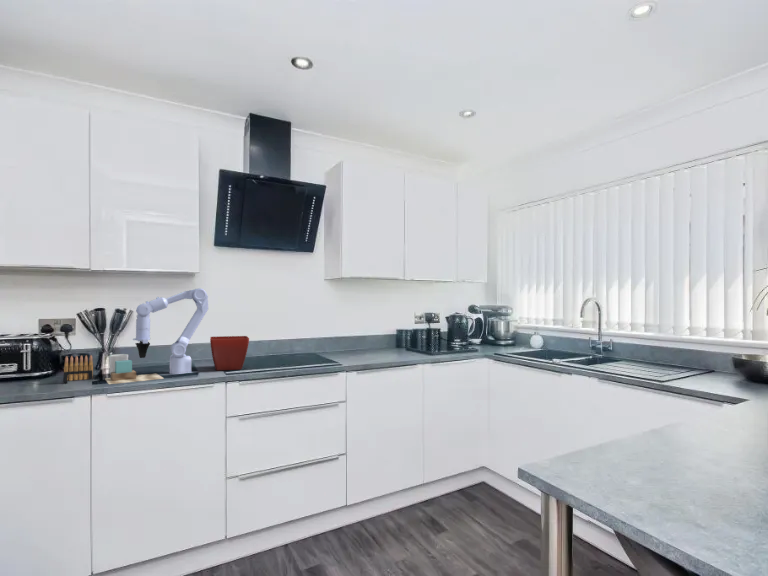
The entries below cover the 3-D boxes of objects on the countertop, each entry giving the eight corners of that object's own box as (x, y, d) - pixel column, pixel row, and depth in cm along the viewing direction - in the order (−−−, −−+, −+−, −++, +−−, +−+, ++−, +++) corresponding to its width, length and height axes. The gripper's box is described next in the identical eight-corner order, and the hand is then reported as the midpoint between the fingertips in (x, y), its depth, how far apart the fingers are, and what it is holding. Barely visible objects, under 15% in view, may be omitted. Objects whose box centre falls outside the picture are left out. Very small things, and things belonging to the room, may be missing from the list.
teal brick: (130, 370, 189) (130, 359, 189) (131, 371, 186) (132, 360, 186) (114, 372, 185) (115, 361, 185) (116, 373, 182) (116, 362, 182)
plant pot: (246, 365, 233) (246, 335, 233) (249, 370, 215) (249, 338, 216) (209, 367, 225) (210, 336, 226) (209, 372, 208) (210, 339, 208)
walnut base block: (133, 376, 191) (133, 370, 191) (136, 378, 185) (136, 372, 185) (110, 378, 185) (110, 372, 185) (112, 381, 180) (112, 374, 180)
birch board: (156, 375, 199) (156, 373, 199) (164, 380, 186) (164, 378, 186) (104, 380, 186) (104, 378, 186) (108, 386, 173) (108, 384, 173)
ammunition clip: (93, 380, 185) (93, 354, 186) (92, 381, 184) (93, 354, 184) (63, 383, 180) (64, 355, 181) (62, 383, 179) (63, 356, 179)
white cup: (124, 373, 204) (125, 353, 204) (130, 375, 199) (131, 354, 199) (106, 375, 198) (106, 355, 198) (112, 377, 193) (112, 356, 193)
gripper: (130, 328, 197) (130, 356, 197) (135, 330, 186) (135, 360, 186) (147, 327, 202) (146, 355, 201) (153, 329, 190) (152, 358, 190)
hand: (142, 357), depth 194 cm, fingers closed
